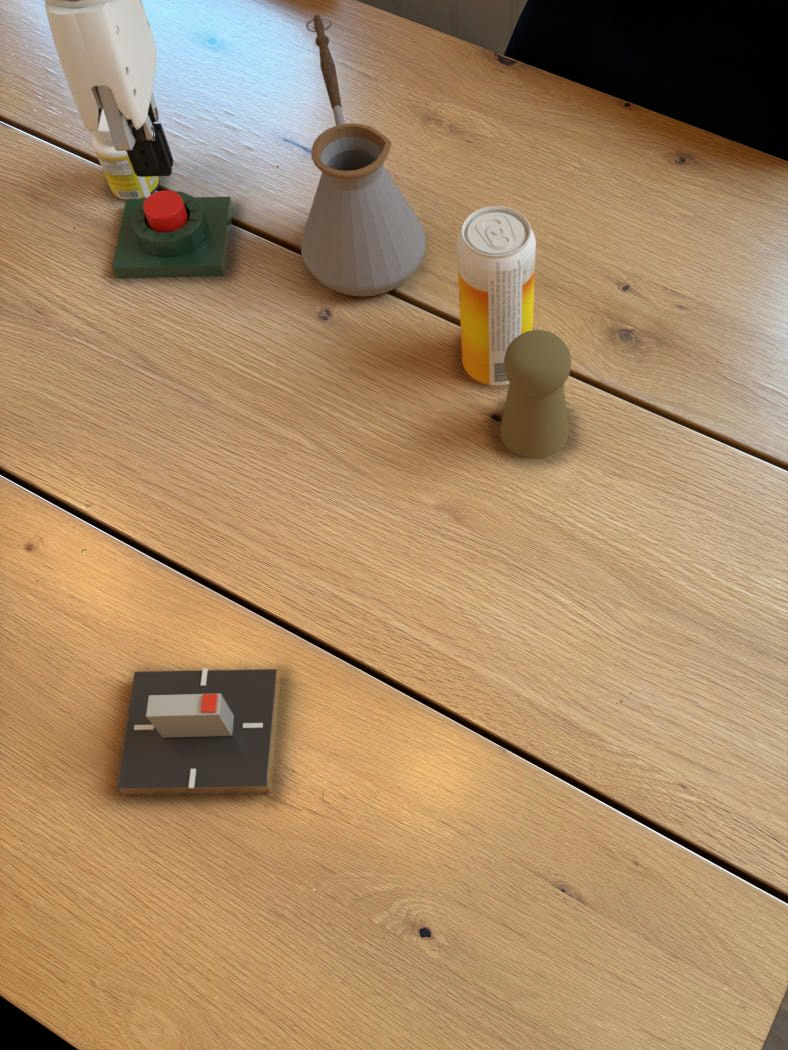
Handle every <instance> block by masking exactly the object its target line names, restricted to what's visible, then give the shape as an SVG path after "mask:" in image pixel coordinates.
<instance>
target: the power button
mask: <svg viewBox="0 0 788 1050" xmlns="http://www.w3.org/2000/svg"><path fill="white" fill-rule="evenodd" d="M143 209H144V212H145V215H146V218H147V220H148V223H149V225H150V227H151V228H152V229H153V230H155V231H157V232H172V231H174V230H177V229H179V228H182V227H183V226H184V225H185V224H186V222H187V218H188V215H187V212H186V209H185V206H184V203H183V200H182V198H181V196H180V195H179V194H177V193H175V192H173V190H159V191H155V192H154V193H153V194H151V195H150V196H149V197H148V198H147V199H146V200H145V202H144V205H143Z"/></svg>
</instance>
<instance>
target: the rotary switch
mask: <svg viewBox="0 0 788 1050" xmlns="http://www.w3.org/2000/svg"><path fill="white" fill-rule="evenodd" d="M280 691H281V675H280V674H279V672H278V670H277V669H276V668H268V669H267V668H266V669H264V668H263V669H261V668H260V669H211V670H209V668H208V667H202V669H201V670H154V671H153V670H152V671H148V670H147V671H134V673H133V678H132V686H131V693H130V699H129V707H128V713H127V719H126V726H125V733H124V739H123V744H122V745H123V746H122V753H121V759H120V766H119V767H120V768H119V772H118V780H117V786H116V788H117V790H118V791H119V792H120V793H121V794H122V795H123V796H173V795H175V796H176V795H177V796H178V795H179V796H180V795H232V794H233V795H234V794H237V795H238V794H239V795H240V794H271V793H272V790H273V789H272V788H273V777H274V763H275V753H276V751H275V750H276V742H277V741H276V739H277V729H278V728H277V727H278V714H279V703H280ZM182 694H222V696H223V698H224V700H225V701H226V703H227V705H228V706H229V708H230V710H231V711H232V713H233V715H234V722H233V733H232V736H208V737H170V738H163V737H162V736H161V735H160V734H159V732H158V731H157V730H156V728H155V727H154V726H153V725H152V723H151V722H150V721H149V719H148V718H147V717H146V713H147V705H148V697H149V695H182Z"/></svg>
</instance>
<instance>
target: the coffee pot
mask: <svg viewBox="0 0 788 1050" xmlns="http://www.w3.org/2000/svg"><path fill="white" fill-rule="evenodd" d="M323 20H325V21H329V25H327V26H326V27H325V25H324V22H323ZM331 20H332V19H330V18H329V17H325V16H321V15H320V14H315V15H313V18H310V20H308V21H307V22H306V24H305V28H306V30H307V31H308V32H311V33H316V38H315V41H314V42H315V45H316V46H317V47H318V49H319V50H318V51H319V63H320V71H321V73H322V78H323V82H324V86H325V89H326V92H327V96H328V100H329V103H330V107H331V110H332V112H333V118H334V122H335V125H334V126H332V127H329V128H328V129H325V130H324V131H323V132H321V133H320V134H319V135H318V136H317V137H316V138H315V140H314V141H313V144H312V146H311V150H310V152H311V160H312V162H313V164H314V166H315V167H316V168H317V169H318V170H319V171H320V172H321V174H320V177H319V181H318V184H317V187H316V190H315V194H314V197H313V201H312V204H311V207H310V209H309V214H308V216H307V217H308V218H307V220H306V223H305V227H304V230H303V233H302V236H301V239H300V250H301V251H300V252H301V257H302V260H303V263H304V264H305V267H306V269H307V270H308V271H309V272H310V273H311V274H312V276H313V277H314V278H315V279H316V280H317V281H318V282H319V283H320V284H321V285H323V286H325V287H326V288H328V289H329V290H330V291H333V292H337V293H339V294H342V295H346V296H350V297H351V296H353V297H359V298H364V297H375V296H378V295H381V294H385V293H389V292H391V291H392V290H394V289H396V288H398V287H401V286H402V285H403V284H404V283H405V282H407V281H408V280H410V278H411V277H413V276H414V274H415V273H416V271H417V270H418V268H419V267H420V265H421V263H422V261H423V258H424V256H425V252H426V248H427V238H426V237H427V236H426V231H425V228H424V227H423V224H422V223H421V220H420V218H419V217H418V216H417V213H416V212H415V210H413V208H412V207H411V204H410V203H409V202H408V201H407V199H406V197H405V196H404V195H403V192H402V191H401V190H400V188H399V187H398V185H397V184H396V183H395V181H394V179H393V178H392V176H391V175H390V173H389V171H388V169H386V167H385V166H384V165H385V161H386V160H387V158H388V156H389V154H390V152H391V148H392V145H393V144H392V141H391V140H390V139H389V138H388V137H387V136H386V135H384V134H383V133H382V132H381V131H380V130H378V129H376V128H374V127H372V126H371V125H368V124H367V125H366V124H363V123H354V122H353V123H352V122H351V123H346V122H345V117H344V113H343V110H342V109H343V108H342V100H341V99H342V98H341V93H340V87H339V81H338V74H337V70H336V64H335V62H334V61H335V60H334V59H333V56H332V53H331V50H330V48H329V44H330V38H329V36H327V35H326V33H325V31H328V30H329V29H331V27H332V24H333V22H332V21H331ZM312 22H313V28H314V29H312V28H309V25H310V24H311V23H312Z"/></svg>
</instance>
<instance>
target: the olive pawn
mask: <svg viewBox="0 0 788 1050" xmlns="http://www.w3.org/2000/svg"><path fill="white" fill-rule="evenodd" d="M571 368H572V357H571V353H570V349H569V347H568V346H567V344H566V343H565V341H564V340H563V339H562V338H561V337H560V336H558V335H557V334H555V333H554V332H550V331H548V330H542V329H533V330H532V331H527V332H525V333H522V334H520V335H519V336H518V337H516V338H515V339H514V340H513V341H512V342H511V343H510V345H509V346H508V348H507V350H506V353H505V358H504V369H505V374H506V377H507V379H508V381H509V382H510V384H508V390H507V393H506V399H505V404H504V409H503V414H502V418H501V423H500V428H499V434H500V439H501V441H502V443H503V445H504V446H505V447H506V449H508V450H509V451H510V452H511V453H513V454H515V455H516V456H519V457H521V458H524V459H533V460H537V459H545V458H548V457H550V456H553V455H555V454H556V453H558V452H559V451H560V450H561V449H562V448H563V447H564V446H565V444H566V443H567V441H568V438H569V431H570V430H569V423H568V422H569V420H568V412H567V411H568V410H567V402H566V393H565V383H566V382H567V381H568V378H569V377H570V375H571Z"/></svg>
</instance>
